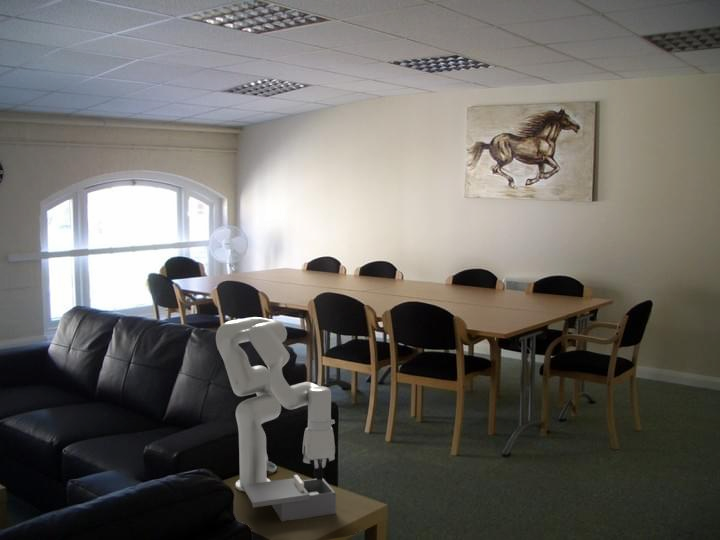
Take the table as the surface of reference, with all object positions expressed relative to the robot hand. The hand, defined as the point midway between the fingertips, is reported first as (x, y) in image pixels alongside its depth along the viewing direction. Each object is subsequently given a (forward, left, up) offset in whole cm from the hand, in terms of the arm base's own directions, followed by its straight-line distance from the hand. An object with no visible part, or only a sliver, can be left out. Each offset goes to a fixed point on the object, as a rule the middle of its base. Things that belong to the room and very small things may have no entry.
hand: (318, 478), depth 248 cm
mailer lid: (0, -15, -3) cm, 15 cm away
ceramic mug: (-39, -10, -10) cm, 42 cm away
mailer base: (0, -6, -10) cm, 11 cm away
